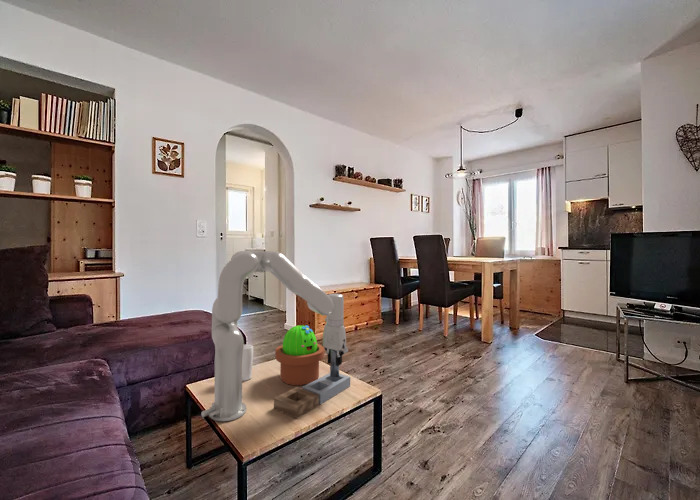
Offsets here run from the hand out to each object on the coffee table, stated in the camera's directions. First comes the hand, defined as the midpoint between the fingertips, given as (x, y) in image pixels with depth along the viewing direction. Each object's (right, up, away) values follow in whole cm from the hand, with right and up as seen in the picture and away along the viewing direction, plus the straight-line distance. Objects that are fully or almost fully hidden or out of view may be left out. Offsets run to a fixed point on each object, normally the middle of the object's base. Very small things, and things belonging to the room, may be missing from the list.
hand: (334, 363), depth 139 cm
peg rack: (-3, -10, -4) cm, 11 cm away
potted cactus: (-17, -10, +10) cm, 22 cm away
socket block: (-14, -10, -17) cm, 24 cm away
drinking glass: (-42, -10, +8) cm, 43 cm away
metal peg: (0, -5, 0) cm, 5 cm away
